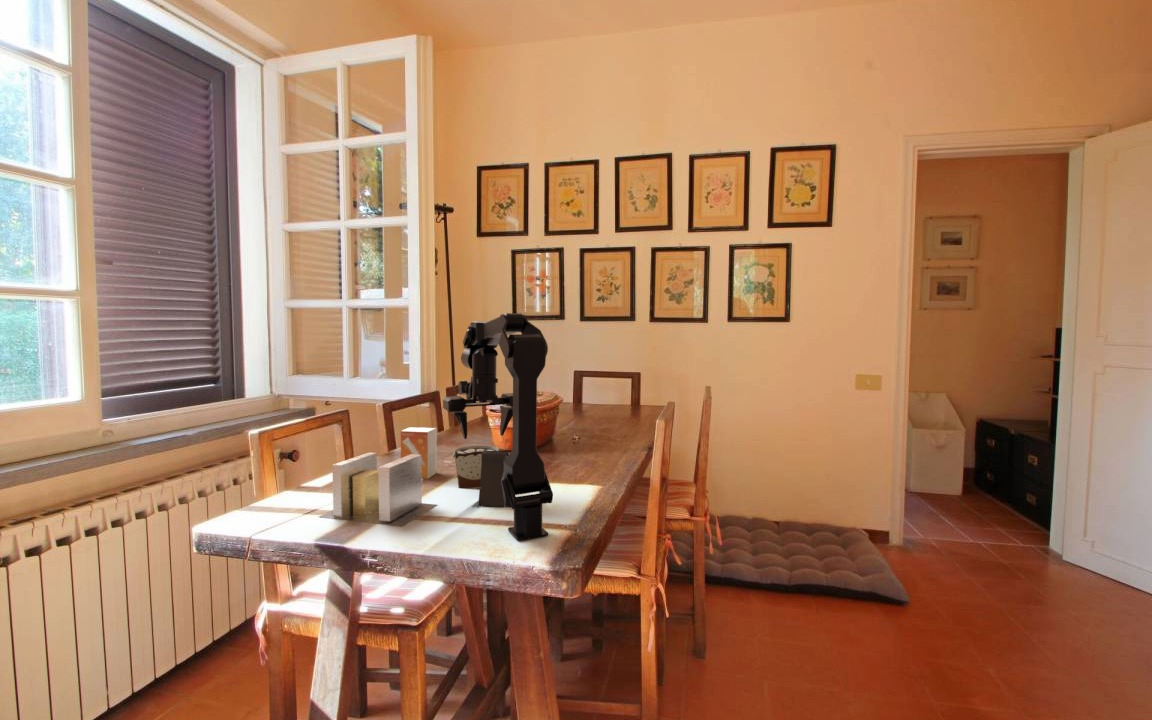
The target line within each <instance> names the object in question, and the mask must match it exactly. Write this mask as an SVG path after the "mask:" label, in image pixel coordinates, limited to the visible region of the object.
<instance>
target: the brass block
mask: <svg viewBox="0 0 1152 720" xmlns="http://www.w3.org/2000/svg"><path fill="white" fill-rule="evenodd" d="M377 508H379V474H378V469H377V470H372V469H370V470H367V471H365V472H362V473H360V474H357V475H354V476H353V513H355V514H364V515H366V514H367V513H369V512H371V511H373V510H375V509H377Z"/></svg>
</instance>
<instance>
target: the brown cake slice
mask: <svg viewBox="0 0 1152 720" xmlns="http://www.w3.org/2000/svg"><path fill="white" fill-rule="evenodd" d="M483 450H484V451H500V448H499V447H497V446H493V445H485V444H484V445H479V444H477V445H467V446H461V447H457V448H456V449H454V452H453V454H452V459H454V460H455V469H456V477H457V479H456V480H457V487H458V489H461V490H463V489H464V490H474V489H480V478H481V465H482V461H481V456H482V451H483Z"/></svg>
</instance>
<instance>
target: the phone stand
mask: <svg viewBox="0 0 1152 720" xmlns="http://www.w3.org/2000/svg"><path fill="white" fill-rule="evenodd" d="M509 454H510V453H509V451H508V450H499V451H484V450H483V451H482V456H481V461H482V465H481V478H480V488H479V493H478V494H479V495H478V507H489V508H491V507H492V508H493V507H495V508H505V502H504V498H503V490H502V484H501V479H502V475H503V472H504V458H505V456H508V455H509Z"/></svg>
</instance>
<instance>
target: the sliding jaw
mask: <svg viewBox="0 0 1152 720" xmlns="http://www.w3.org/2000/svg"><path fill="white" fill-rule="evenodd" d="M377 470H378V474H379V520H380V521H389V522H390V521H392V520H394V519H395V518H397V517H399V516H401V515H402V514H404V513H406V512H408V511H410V510H411V509H413V508H415V507H417V506H418V505H420V504H422V503H423V502H422V501H423V500H422V499H423V495H422V493H423V492H422V491H423V490H422V487H423V486H422V485H423V484H422V480H423V478H421V455H415V454H411V455H408V456H405V457H403V458H401V457H400V458H398V459H395V460H393V461H391V462H389V463H388V462H387V463H385V464H383V465H380V466H378V467H377Z"/></svg>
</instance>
